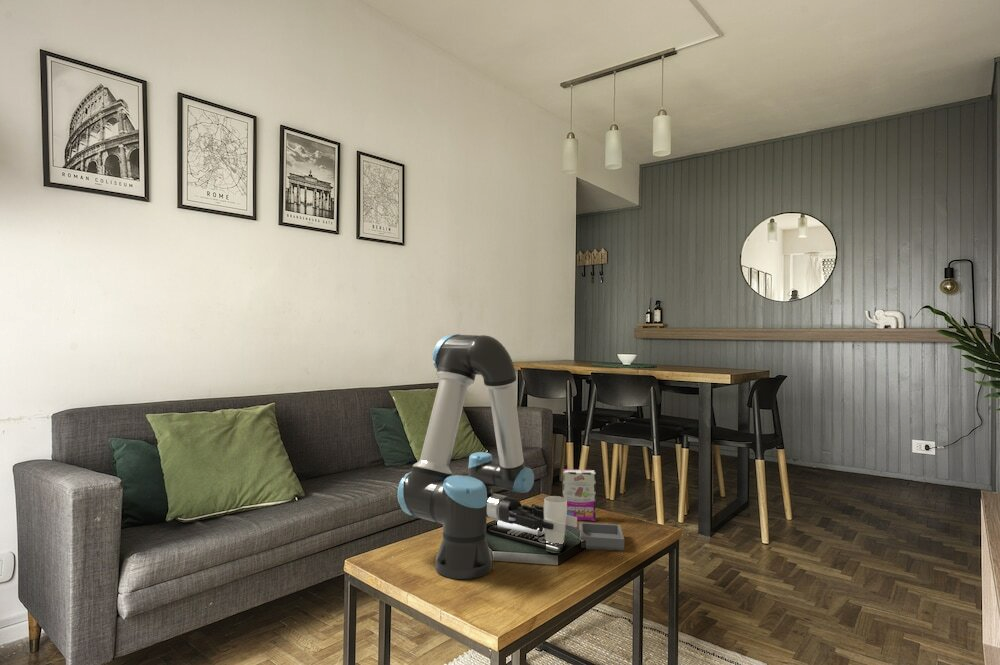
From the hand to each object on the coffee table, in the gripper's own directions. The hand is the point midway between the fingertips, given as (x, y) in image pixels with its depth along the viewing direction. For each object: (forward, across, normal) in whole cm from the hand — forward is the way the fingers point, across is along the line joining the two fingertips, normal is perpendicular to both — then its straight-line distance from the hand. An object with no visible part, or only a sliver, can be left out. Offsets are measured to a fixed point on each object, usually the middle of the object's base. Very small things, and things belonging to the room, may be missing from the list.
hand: (570, 525), depth 159 cm
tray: (+2, -16, -9) cm, 18 cm away
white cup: (-5, 0, -9) cm, 10 cm away
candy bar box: (-14, -31, -9) cm, 35 cm away
